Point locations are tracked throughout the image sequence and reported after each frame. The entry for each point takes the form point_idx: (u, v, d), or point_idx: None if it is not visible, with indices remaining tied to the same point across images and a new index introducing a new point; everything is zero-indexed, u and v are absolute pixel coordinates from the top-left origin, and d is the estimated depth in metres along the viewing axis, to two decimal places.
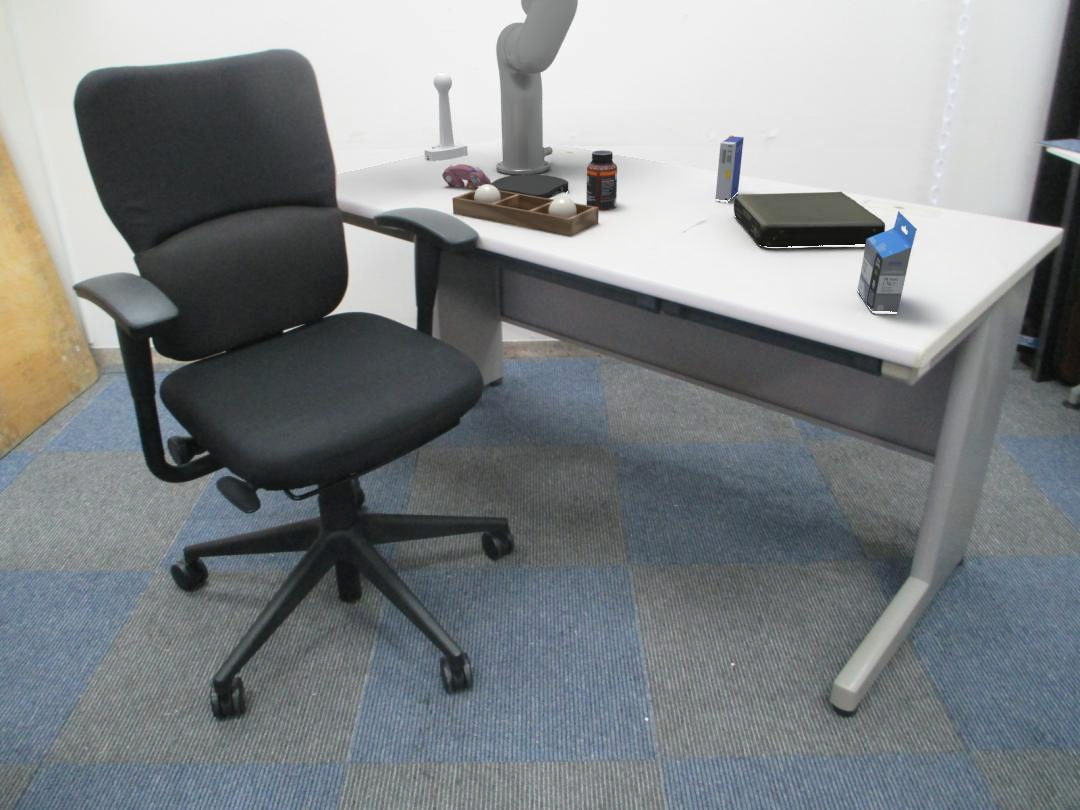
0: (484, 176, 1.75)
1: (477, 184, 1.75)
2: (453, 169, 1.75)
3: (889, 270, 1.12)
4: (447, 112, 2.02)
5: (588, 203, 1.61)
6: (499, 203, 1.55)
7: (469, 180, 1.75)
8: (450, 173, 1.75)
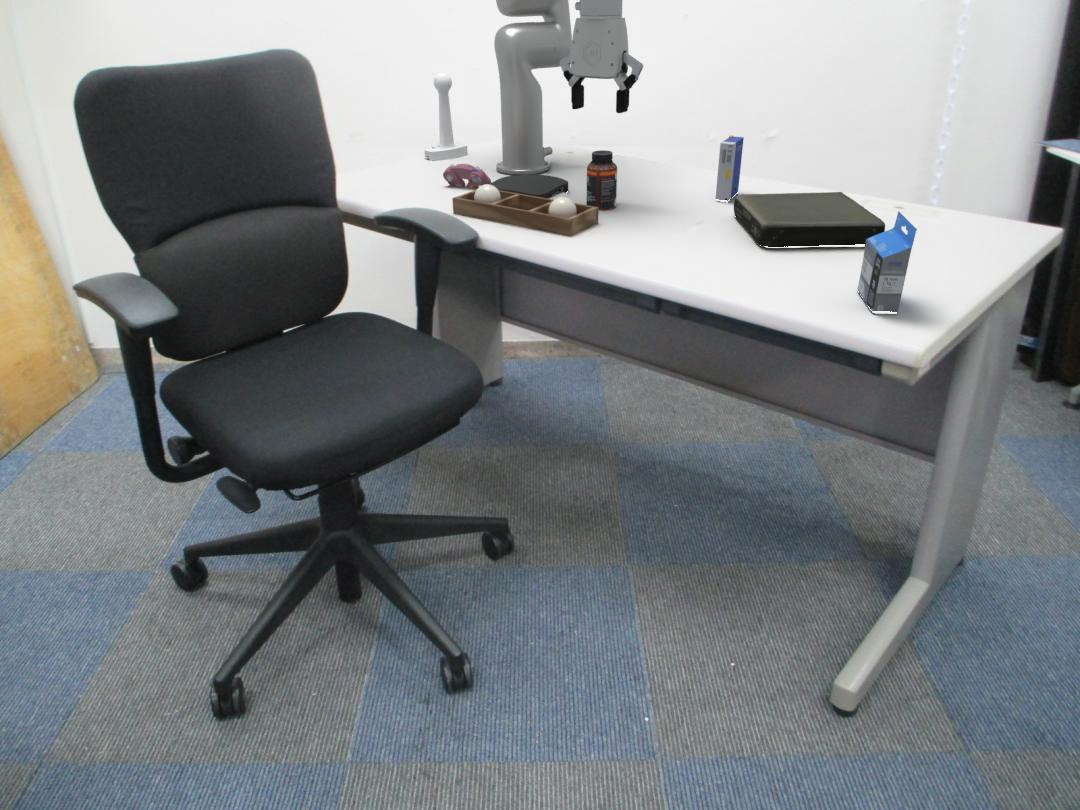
0: (485, 175, 1.75)
1: (478, 183, 1.76)
2: (454, 168, 1.75)
3: (890, 270, 1.12)
4: (447, 112, 2.02)
5: (588, 203, 1.61)
6: (499, 203, 1.55)
7: (470, 179, 1.75)
8: (451, 172, 1.76)
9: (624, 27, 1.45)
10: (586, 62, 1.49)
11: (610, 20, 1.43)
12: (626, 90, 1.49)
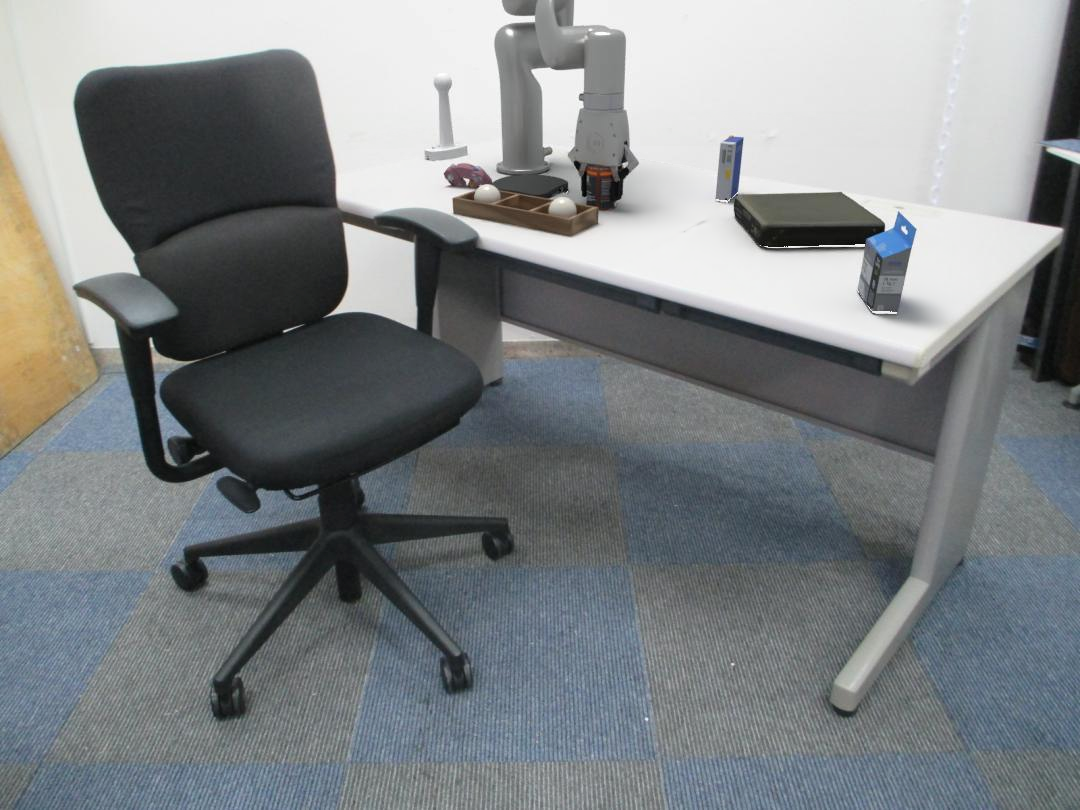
0: (486, 175, 1.76)
1: (479, 183, 1.76)
2: (455, 168, 1.75)
3: (889, 270, 1.12)
4: (447, 112, 2.02)
5: (588, 203, 1.61)
6: (499, 203, 1.55)
7: (471, 179, 1.76)
8: (452, 172, 1.76)
9: (625, 119, 1.53)
10: (589, 150, 1.56)
11: (612, 114, 1.51)
12: None
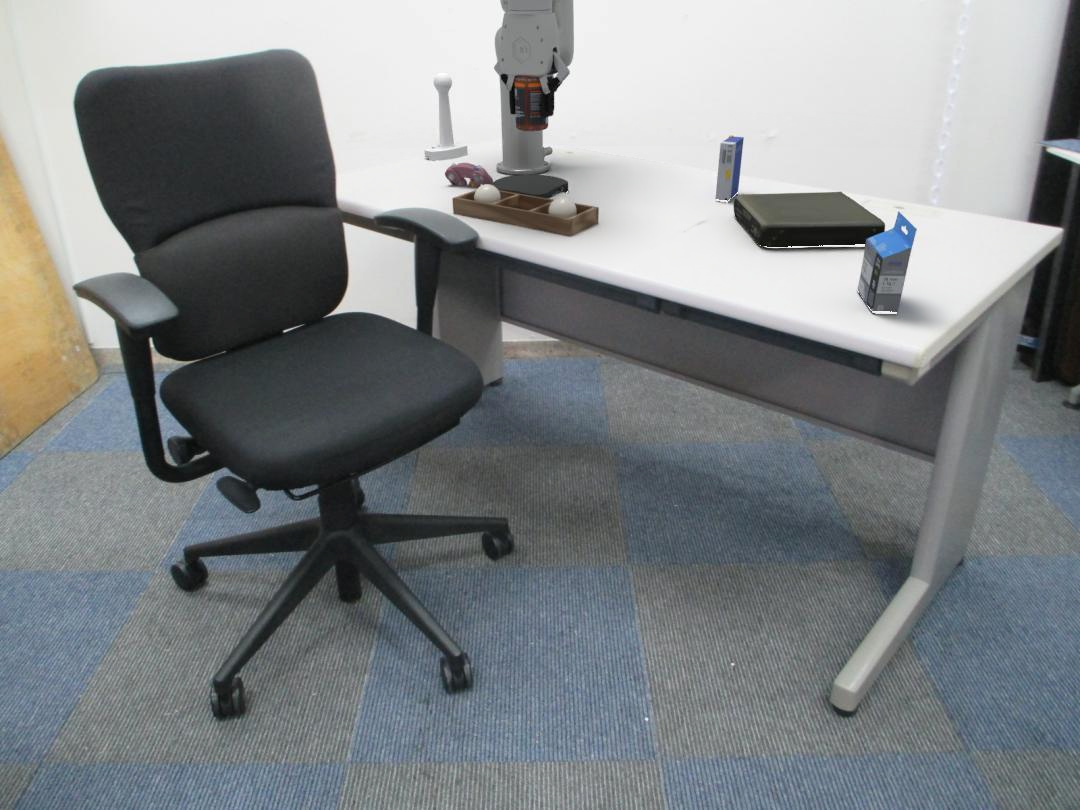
0: (486, 174, 1.76)
1: (480, 182, 1.77)
2: (456, 167, 1.76)
3: (889, 270, 1.12)
4: (447, 112, 2.02)
5: (516, 120, 1.47)
6: (499, 203, 1.55)
7: (472, 178, 1.76)
8: (453, 171, 1.76)
9: (554, 23, 1.39)
10: (515, 59, 1.42)
11: (538, 15, 1.37)
12: None
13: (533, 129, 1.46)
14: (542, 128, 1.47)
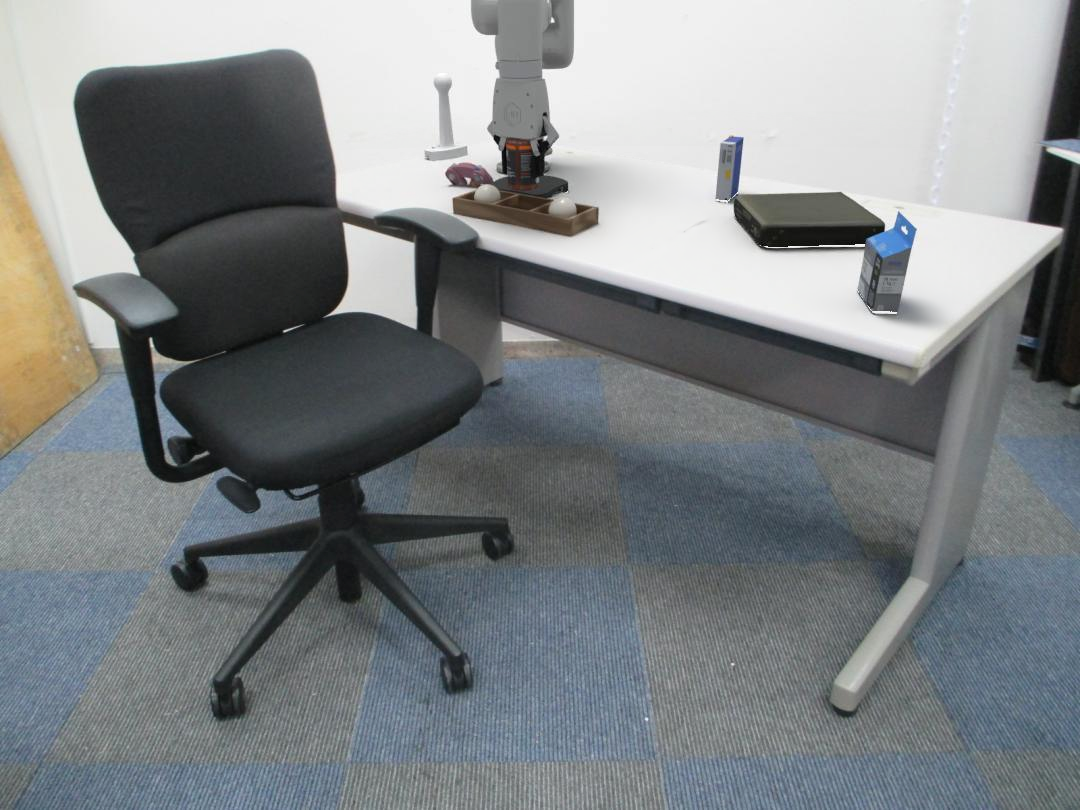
0: (487, 174, 1.76)
1: (480, 182, 1.77)
2: (456, 167, 1.76)
3: (890, 270, 1.12)
4: (447, 112, 2.02)
5: (508, 179, 1.52)
6: (499, 203, 1.55)
7: (472, 178, 1.77)
8: (453, 171, 1.77)
9: (544, 89, 1.43)
10: (507, 123, 1.46)
11: (528, 83, 1.41)
12: None
13: (524, 189, 1.51)
14: (533, 188, 1.51)
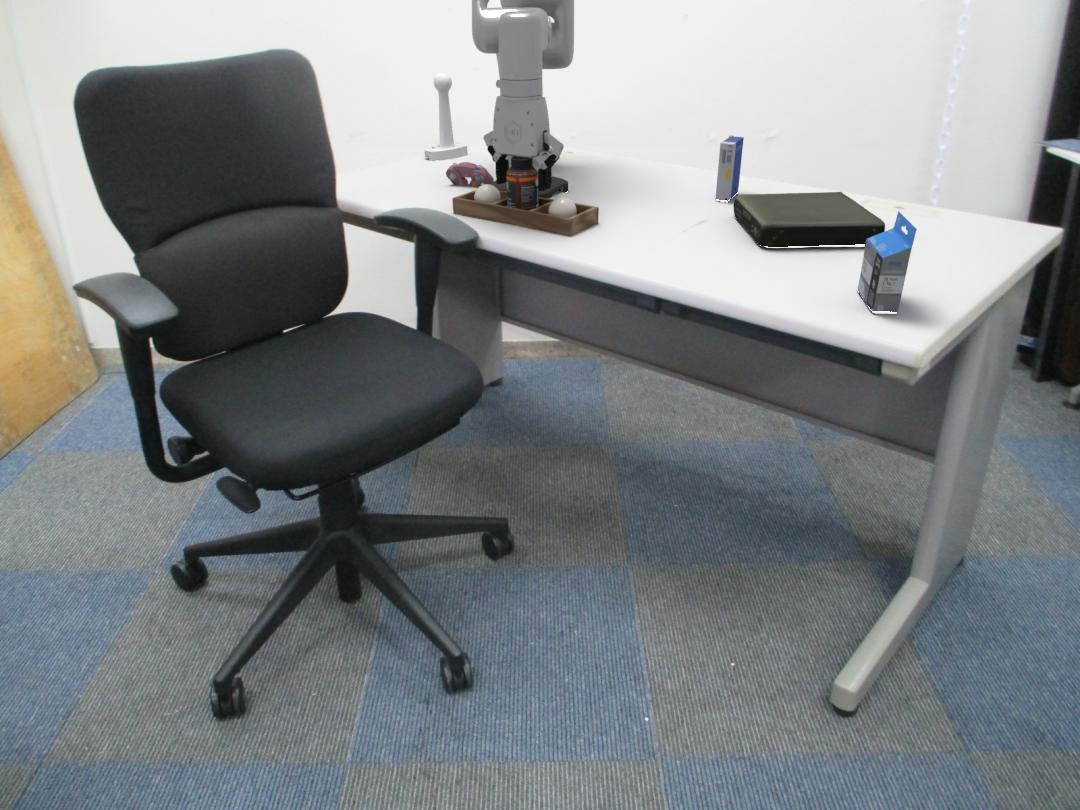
0: (487, 174, 1.77)
1: (481, 182, 1.77)
2: (457, 167, 1.76)
3: (889, 270, 1.12)
4: (447, 112, 2.02)
5: None
6: (499, 203, 1.55)
7: (473, 178, 1.77)
8: (454, 171, 1.77)
9: (544, 107, 1.44)
10: (507, 140, 1.48)
11: (529, 101, 1.42)
12: (548, 169, 1.48)
13: None
14: None
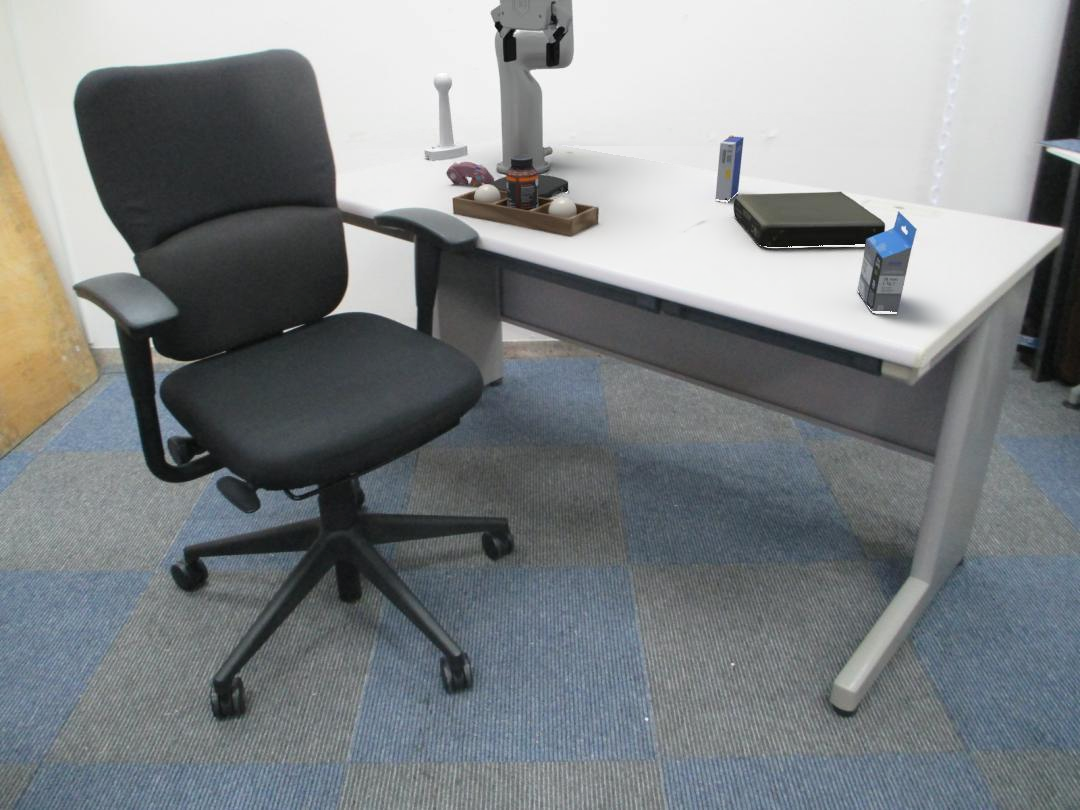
0: (488, 173, 1.77)
1: (481, 181, 1.77)
2: (457, 167, 1.77)
3: (889, 270, 1.12)
4: (447, 112, 2.02)
5: None
6: (499, 203, 1.55)
7: (473, 177, 1.77)
8: (454, 170, 1.77)
9: None
10: (515, 13, 1.45)
11: None
12: (556, 43, 1.45)
13: None
14: None
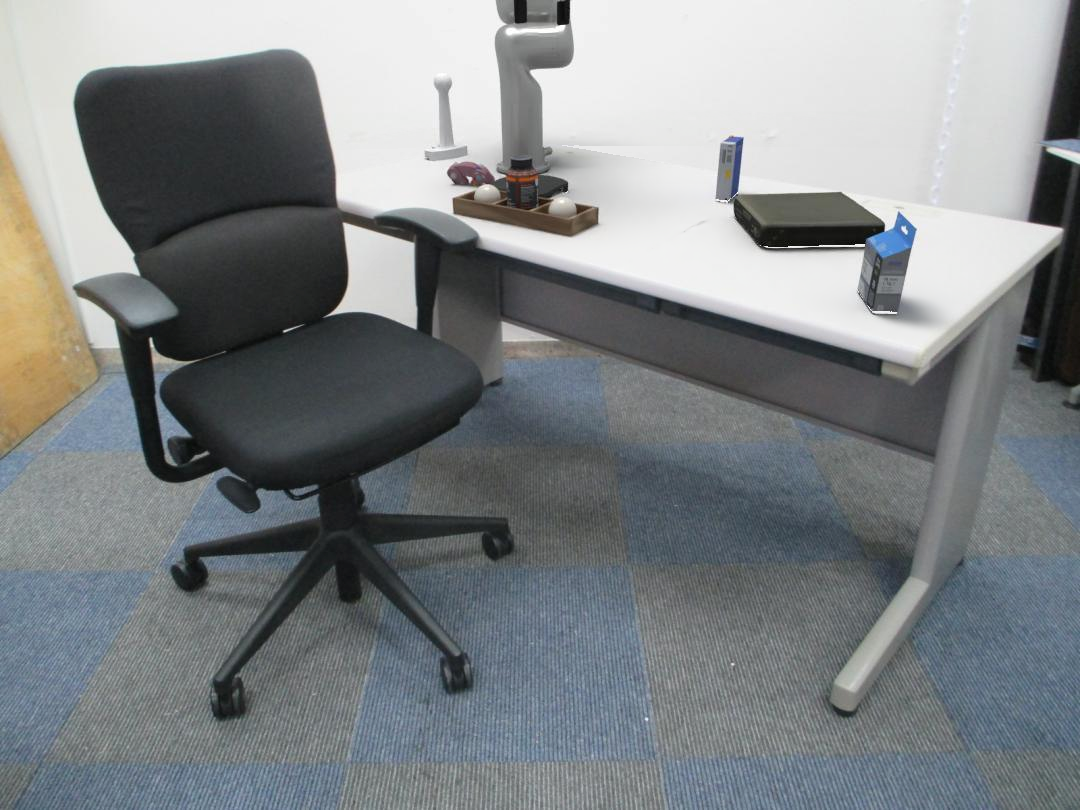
0: (488, 173, 1.77)
1: (482, 181, 1.78)
2: (458, 166, 1.77)
3: (890, 270, 1.12)
4: (447, 112, 2.02)
5: None
6: (499, 203, 1.55)
7: (474, 177, 1.77)
8: (455, 170, 1.78)
9: None
10: None
11: None
12: (566, 1, 1.49)
13: None
14: None
